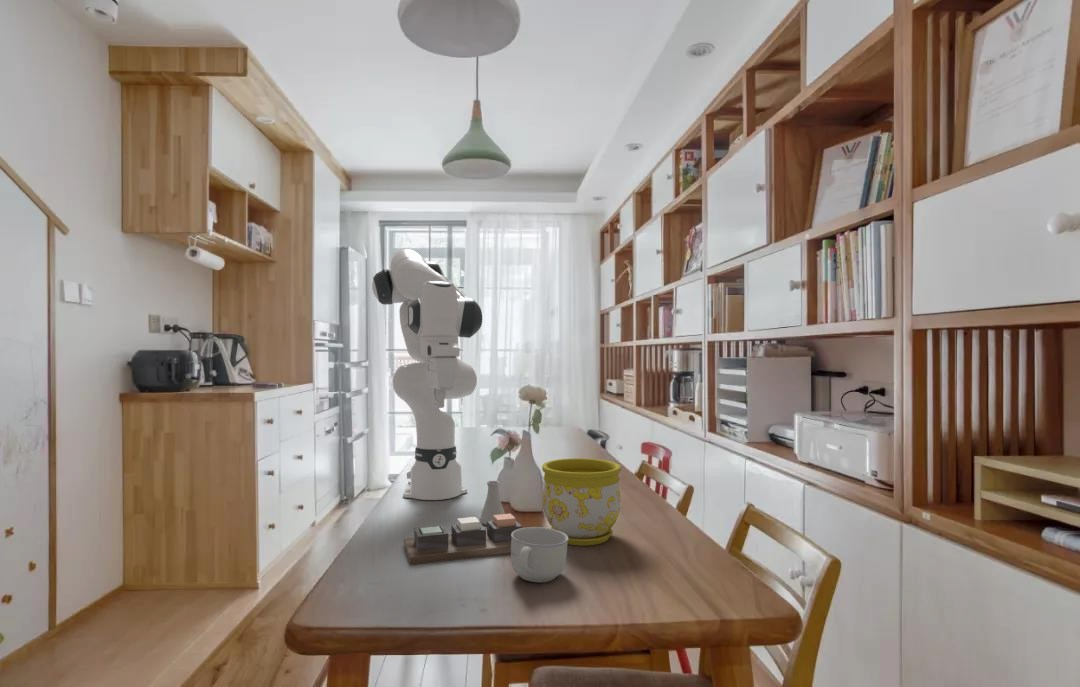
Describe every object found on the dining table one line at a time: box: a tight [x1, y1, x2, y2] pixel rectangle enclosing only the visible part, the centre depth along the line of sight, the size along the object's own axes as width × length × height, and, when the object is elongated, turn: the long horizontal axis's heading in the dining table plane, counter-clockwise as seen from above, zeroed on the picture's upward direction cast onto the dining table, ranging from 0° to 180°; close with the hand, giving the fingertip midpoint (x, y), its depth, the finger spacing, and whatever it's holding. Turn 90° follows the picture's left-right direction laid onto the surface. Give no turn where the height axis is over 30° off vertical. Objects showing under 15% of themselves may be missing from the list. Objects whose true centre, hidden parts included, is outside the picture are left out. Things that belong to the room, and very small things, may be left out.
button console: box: [403, 520, 523, 566], centre depth 126 cm, size 12×26×4 cm, turn 109°
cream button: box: [456, 516, 480, 531], centre depth 126 cm, size 4×4×2 cm
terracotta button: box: [493, 513, 517, 527], centre depth 129 cm, size 4×4×2 cm
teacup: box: [510, 526, 568, 583], centre depth 109 cm, size 14×11×8 cm
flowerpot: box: [541, 457, 622, 547], centre depth 134 cm, size 18×18×16 cm
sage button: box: [419, 525, 442, 535], centre depth 123 cm, size 4×4×2 cm
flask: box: [478, 480, 506, 526], centre depth 146 cm, size 7×7×10 cm
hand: (439, 407), depth 138 cm, fingers closed
